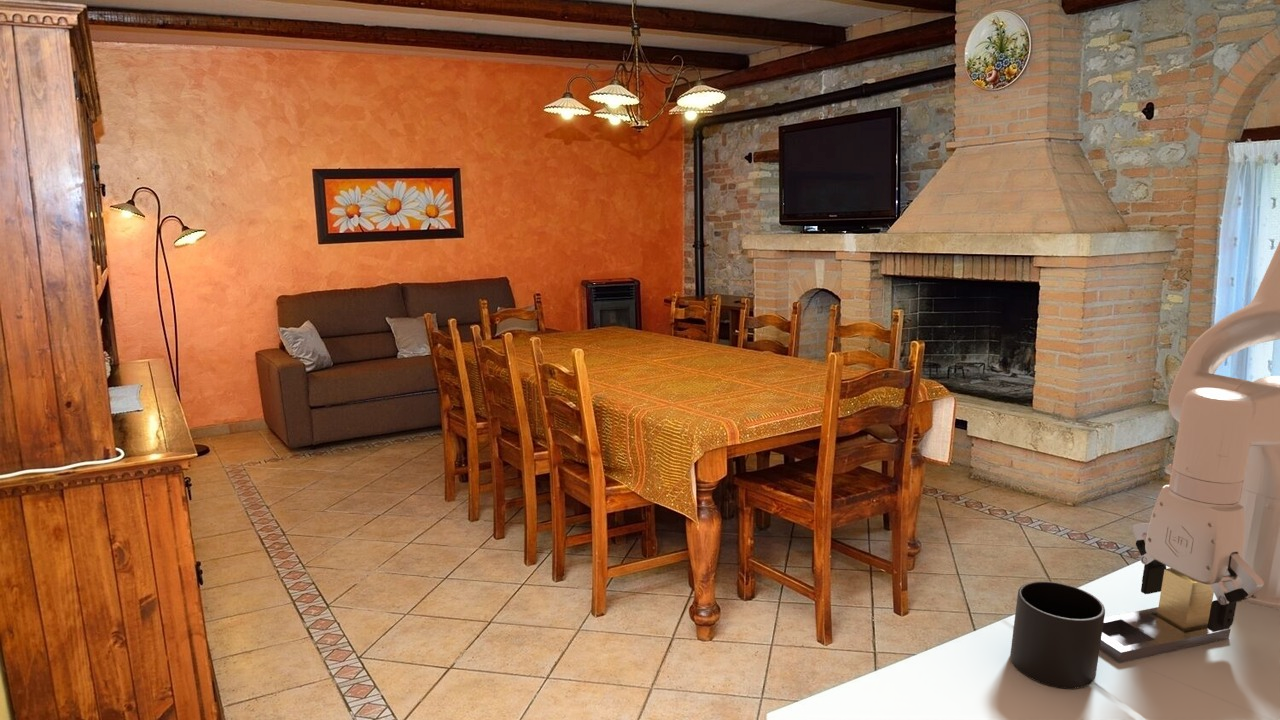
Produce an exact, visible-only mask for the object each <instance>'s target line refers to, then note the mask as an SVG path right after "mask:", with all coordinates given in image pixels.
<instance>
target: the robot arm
mask: <svg viewBox="0 0 1280 720" xmlns="http://www.w3.org/2000/svg"><path fill="white" fill-rule="evenodd" d="M1256 290H1257V291H1256V292H1255V293H1256V294H1255V296H1254V297H1253V299H1252V300H1251V301H1250V303H1248V304H1247V305H1245V306H1243V307H1242V308H1240V309H1238V310H1236V311H1233V312H1232V313H1230V314H1229V315H1227V316H1224V317H1223V318H1221V319H1220V320H1218V321H1217V322H1215V323H1214V324H1213V325H1212V326H1211V327H1209V328H1208V329H1207V330H1206V331H1204V332H1203V333H1202V334H1200V335H1199V336H1198V338H1196V339H1195V341H1194V342H1193V343H1192V344H1191V346H1190V347H1189V349H1188V350H1187V351H1186V353H1185V356H1184V357H1183V361H1182V363H1181V365H1180V367H1179V370H1178V371H1177V374H1176V376H1175V378H1174V381H1173V382H1172V386H1171V389H1170V392H1169V397H1168V410H1169V412H1170V414H1171V417H1172V418H1173V419H1174V420H1175V421H1177V423H1179V424H1178V429H1177V436H1176V442H1175V447H1174V454H1173V460H1172V463H1170V464H1169V463H1168V464H1167V465H1166V466H1165V468H1164V471H1165V474H1167V475H1169V476H1170V477H1169V484H1165V485H1163V486H1162V488H1161V490H1160V492H1159V494H1158V497H1157V499H1156V501H1155V503H1154V507H1153V509H1152V513H1151V516H1150V520H1149V522H1142V523H1136V524H1133V525H1132V530H1133V534H1134V539H1135V546H1136V548H1137V550H1138V552H1139V554H1140V559H1139V560H1140V563H1141V564H1142V565H1143V573H1142V577H1141V578H1142V579H1141V588H1140V592H1141V594H1144V595H1149V594H1154V593H1161V588H1162V582H1163V576H1164V570H1165V569H1167V567H1168V568H1172V569H1174V570H1176V571H1178V572H1180V573H1182V574H1184V575H1186V576H1188V577H1190V578H1192V579H1194V580H1196V581H1198V582H1200V583H1203V584H1209V585H1211V587H1212V589H1213V591H1214V595H1215V597H1216V600H1212V604H1211V609H1210V615H1209V621H1208V626H1207V627H1208V629H1209V630H1211V631H1212V632H1215V631H1220V630H1224V629H1231V626H1232V625H1233V623H1234V619H1235V614H1236V609H1237V604H1238V603H1239V602H1243V601H1244V602H1247V603H1249V604H1253V605H1258V606H1263V607H1268V608H1274V609H1280V375H1271V376H1269V375H1268V376H1265V377H1261V378H1258V379H1256V380H1254V381H1250V380H1245V379H1241V378H1237V377H1236V378H1235V377H1231V376H1225V375H1221V374H1216V372H1217V370H1218V369H1219V367H1220V366H1221V364H1222V363H1223V362H1225V360H1226V359H1228V358H1229V357H1231V356H1233V355H1234V354H1235V353H1237V352H1239V351H1241V350H1243V349H1246V348H1249V347H1252V346H1255V345H1258V344H1263V343H1267V342H1273V341H1278V340H1280V241H1279V242H1278V244H1277V247H1276V248H1275V251H1274V253H1273V256H1272V258H1271V260H1270V262H1269V264H1268V267H1267V269H1266V271H1265V273H1264V275H1263V277H1262V279H1261V281H1260V283H1259V286H1258V289H1256Z"/></svg>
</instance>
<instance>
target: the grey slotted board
mask: <svg viewBox="0 0 1280 720" xmlns="http://www.w3.org/2000/svg"><path fill="white" fill-rule="evenodd" d="M1157 613H1158V606H1157V607H1151V608H1146V609H1142V610H1137V611H1132V612H1127V613H1121V614H1116V615H1110V616H1105V617H1104V623H1103V630H1102V637H1101V643H1100V650H1099V652H1100V651H1101V652H1102V653H1104V654H1105V655H1107V656H1108V657H1109V658H1111V659H1112V660H1115V661H1116V662H1117V663H1119V664H1122V663H1126V662H1132V661H1136V660H1141V659H1145V658H1150V657H1153V656H1158V655H1159V656H1160V655H1163V654H1168V653H1173V652H1177V651H1181V650H1186V649H1190V648H1196V647H1200V646H1204V645H1208V644H1213V643H1218V642H1222V641H1227V640H1229V638H1230V634H1231V628H1229V629H1224V630H1220V631H1215V632H1212V631H1211V630H1209V629H1208V628H1207V629H1202V630H1198V631H1193V632H1188V633H1184V632H1182V631H1181V630H1179V629H1177V628H1175V627H1174V626H1172V625H1170V624H1168V623H1167V622H1165V621H1163V620H1161V619H1160V618H1158V617H1157Z"/></svg>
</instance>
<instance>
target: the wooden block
mask: <svg viewBox="0 0 1280 720" xmlns="http://www.w3.org/2000/svg"><path fill="white" fill-rule="evenodd" d="M1214 595H1215V593H1214V591H1213V589H1212V587H1211V585H1209V584H1203V583H1200V582H1198V581H1196V580H1194V579H1192V578H1190V577H1188V576H1186V575H1184V574H1182V573H1180V572H1178V571H1176V570H1174V569H1172V568H1170V567H1168V568H1166V569H1165V570H1164V576H1163V582H1162V588H1161V592H1160V595H1159V600H1158V601H1159V602H1158V606H1157V607H1158V613H1157V617H1158V618H1160V619H1161V620H1163V621H1165V622H1167V623H1168V624H1170V625H1172V626H1174V627H1175V628H1177V629H1179V630H1181V631H1182V632H1184V633H1188V632H1193V631H1198V630H1202V629H1207V628H1208V627H1207V626H1208V621H1209V615H1210V609H1211V604H1212V602H1213V601H1214V600H1213V599H1214Z"/></svg>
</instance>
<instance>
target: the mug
mask: <svg viewBox="0 0 1280 720" xmlns="http://www.w3.org/2000/svg"><path fill="white" fill-rule="evenodd" d="M1015 606H1016V607H1015V614H1014V623H1013V630H1012V638H1011V639H1012V640H1011V647H1010V653H1009V654H1010V659H1011V662H1012V663H1013V665H1014V667H1015V668H1016V669H1017V670H1018V671H1019V672H1021V674H1023V675H1025V676H1026V677H1028V678H1030V679H1031V680H1034V681H1036V682H1038V683H1040V684H1043V685H1047V686H1051V687H1055V688H1059V689H1060V688H1061V689H1080V688H1084V687H1087V686H1089V685H1091V684H1092V683H1093V682H1094V679H1095V678H1096V676H1097V668H1098V662H1099V655H1100V643H1101V637H1102V630H1103V623H1104V618H1105V617H1106V616H1105V615H1106V608H1105V606H1104V604H1103V602H1102V601H1101V600H1100V599H1098V598H1097V597H1096V596H1094V595H1093V594H1091V593H1089V592H1087V591H1085V590H1083V589H1081V588H1078V587H1075V586H1072V585H1069V584H1066V583H1065V584H1064V583H1061V582H1055V581H1046V580H1045V581H1032V582H1031V581H1030V582H1027V583H1024V584H1023V585H1021V586H1020V587H1019V588H1018V591H1017V598H1016V605H1015Z"/></svg>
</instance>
